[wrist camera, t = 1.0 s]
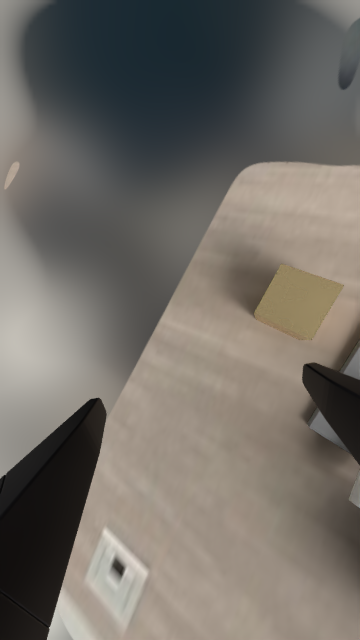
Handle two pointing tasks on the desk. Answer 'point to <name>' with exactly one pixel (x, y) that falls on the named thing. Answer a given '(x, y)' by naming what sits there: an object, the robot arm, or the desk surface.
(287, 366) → the desk surface
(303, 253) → the desk surface
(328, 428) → the coupling stand
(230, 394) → the desk surface
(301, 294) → the block
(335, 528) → the desk surface
